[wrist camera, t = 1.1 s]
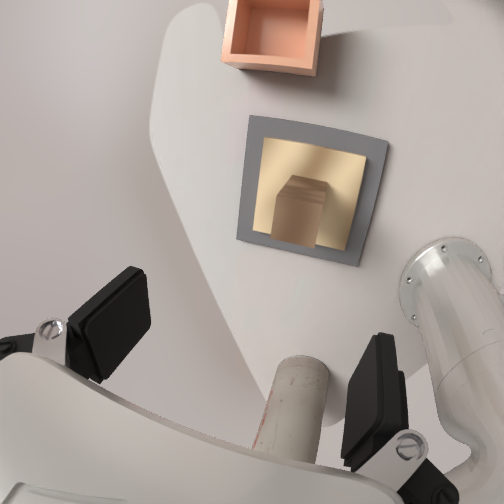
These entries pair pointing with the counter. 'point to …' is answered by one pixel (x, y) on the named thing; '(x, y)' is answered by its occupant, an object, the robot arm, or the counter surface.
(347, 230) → the lid
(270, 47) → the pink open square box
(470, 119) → the counter surface
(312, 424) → the thermos bottle
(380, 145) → the mat
